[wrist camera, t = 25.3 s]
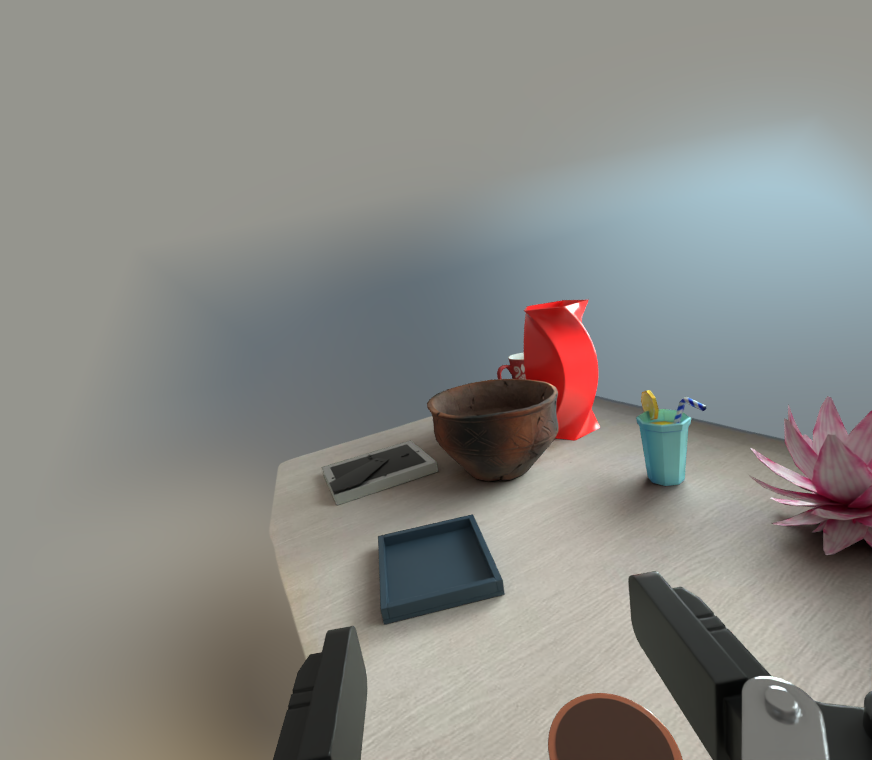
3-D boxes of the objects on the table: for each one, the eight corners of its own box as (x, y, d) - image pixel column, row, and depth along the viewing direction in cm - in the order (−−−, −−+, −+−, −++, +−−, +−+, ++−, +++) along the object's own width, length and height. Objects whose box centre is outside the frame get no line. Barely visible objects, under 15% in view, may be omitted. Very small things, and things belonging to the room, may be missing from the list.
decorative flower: (830, 476, 66) (834, 378, 62) (1055, 558, 45) (1080, 419, 42) (708, 513, 62) (705, 411, 58) (895, 622, 41) (907, 474, 38)
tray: (383, 624, 51) (380, 609, 51) (380, 548, 67) (378, 535, 66) (504, 594, 53) (502, 579, 53) (474, 526, 68) (472, 514, 68)
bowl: (588, 450, 88) (581, 376, 84) (528, 511, 70) (516, 420, 66) (483, 436, 104) (474, 374, 100) (412, 483, 86) (398, 409, 82)
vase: (610, 432, 94) (600, 300, 88) (546, 447, 92) (531, 313, 86) (576, 413, 109) (565, 298, 102) (520, 425, 107) (506, 309, 100)
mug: (540, 395, 127) (535, 349, 124) (552, 404, 119) (546, 354, 116) (497, 404, 126) (491, 358, 123) (506, 413, 118) (499, 363, 115)
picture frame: (336, 505, 82) (438, 471, 89) (333, 491, 82) (436, 458, 89) (323, 476, 97) (412, 448, 104) (321, 464, 96) (410, 437, 103)
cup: (727, 491, 66) (726, 395, 63) (685, 506, 64) (682, 408, 61) (657, 459, 79) (653, 378, 76) (620, 470, 77) (614, 388, 74)
